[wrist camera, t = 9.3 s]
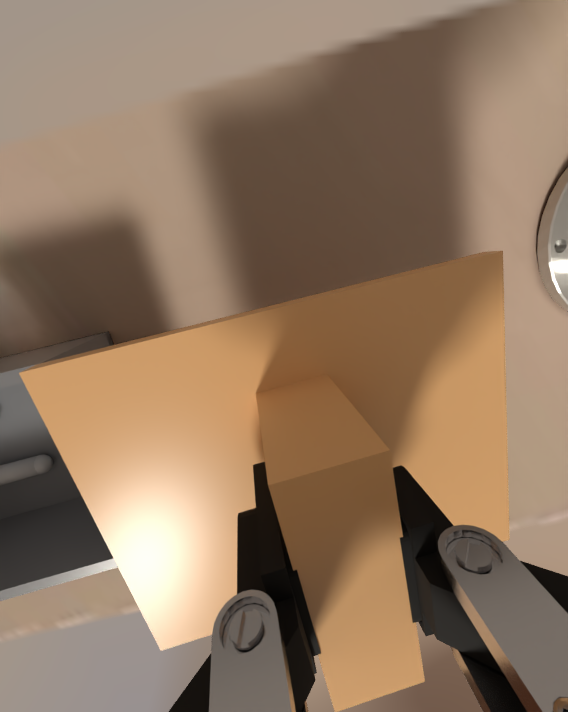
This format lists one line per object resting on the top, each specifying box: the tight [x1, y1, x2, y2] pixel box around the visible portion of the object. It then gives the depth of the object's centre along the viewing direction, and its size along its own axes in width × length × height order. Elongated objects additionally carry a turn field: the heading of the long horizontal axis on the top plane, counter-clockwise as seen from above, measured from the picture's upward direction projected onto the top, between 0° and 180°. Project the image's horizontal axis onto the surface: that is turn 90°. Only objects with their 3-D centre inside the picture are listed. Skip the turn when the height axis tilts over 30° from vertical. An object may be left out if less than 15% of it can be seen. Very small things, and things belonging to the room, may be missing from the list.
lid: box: [19, 251, 509, 712], centre depth 10 cm, size 15×12×6 cm
